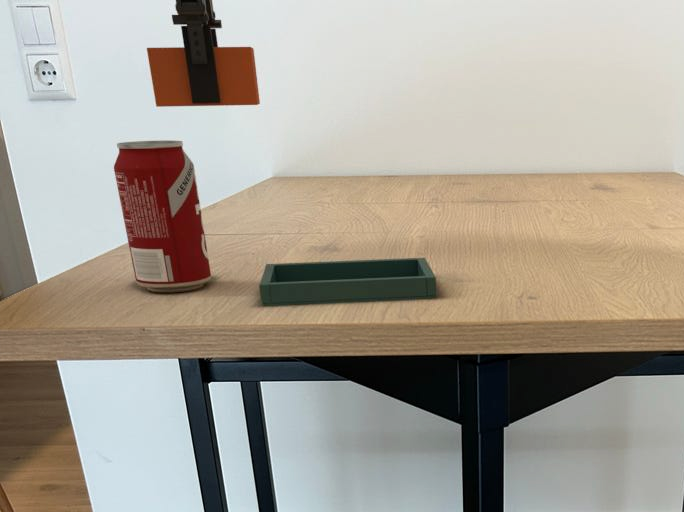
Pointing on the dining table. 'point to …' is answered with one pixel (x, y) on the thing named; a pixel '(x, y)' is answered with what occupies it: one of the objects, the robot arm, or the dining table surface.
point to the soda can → (162, 216)
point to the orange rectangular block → (231, 73)
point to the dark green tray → (347, 281)
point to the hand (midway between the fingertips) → (209, 102)
